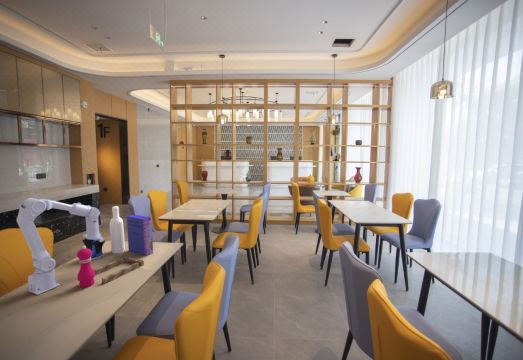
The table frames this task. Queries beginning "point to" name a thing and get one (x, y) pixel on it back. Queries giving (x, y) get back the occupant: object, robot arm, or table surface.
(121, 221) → the bottle
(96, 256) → the beer can
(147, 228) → the cereal box
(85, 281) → the pepper mill
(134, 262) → the u rest
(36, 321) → the table surface
